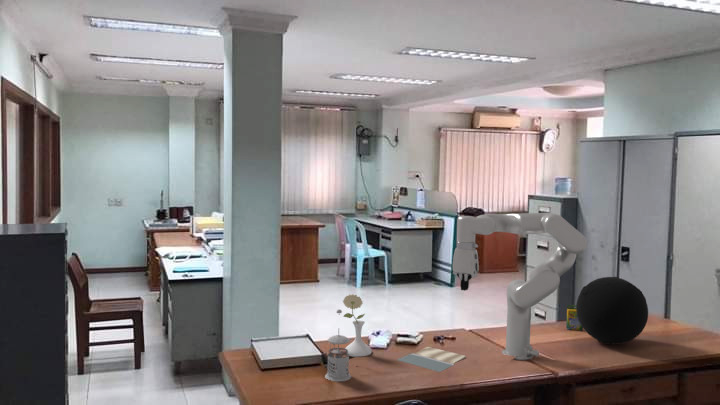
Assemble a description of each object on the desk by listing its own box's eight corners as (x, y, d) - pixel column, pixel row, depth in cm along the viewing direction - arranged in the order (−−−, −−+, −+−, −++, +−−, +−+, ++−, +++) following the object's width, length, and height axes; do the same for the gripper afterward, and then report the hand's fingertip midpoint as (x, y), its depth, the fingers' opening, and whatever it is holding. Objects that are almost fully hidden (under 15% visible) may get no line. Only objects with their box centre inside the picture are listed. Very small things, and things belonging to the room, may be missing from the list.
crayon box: (567, 329, 280) (568, 306, 279) (566, 328, 283) (567, 304, 282) (582, 330, 279) (583, 307, 278) (581, 329, 281) (582, 305, 281)
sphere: (659, 354, 244) (663, 284, 242) (589, 353, 244) (592, 283, 242) (628, 334, 273) (631, 272, 271) (565, 333, 274) (568, 270, 272)
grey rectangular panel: (454, 367, 223) (454, 364, 223) (439, 375, 214) (439, 371, 214) (411, 356, 235) (411, 353, 235) (396, 363, 227) (396, 359, 227)
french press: (330, 383, 205) (331, 313, 203) (319, 372, 215) (320, 306, 214) (355, 379, 209) (356, 311, 207) (343, 369, 219) (344, 304, 218)
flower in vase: (376, 353, 238) (377, 293, 237) (364, 361, 228) (366, 299, 227) (347, 348, 244) (349, 290, 242) (335, 356, 234) (336, 295, 232)
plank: (465, 358, 231) (465, 355, 231) (452, 366, 224) (452, 363, 224) (427, 349, 243) (427, 346, 243) (414, 356, 235) (414, 353, 235)
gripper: (486, 246, 235) (485, 291, 236) (454, 243, 245) (453, 286, 246) (477, 248, 229) (476, 294, 230) (445, 245, 239) (444, 288, 240)
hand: (464, 289), depth 238 cm, fingers closed
